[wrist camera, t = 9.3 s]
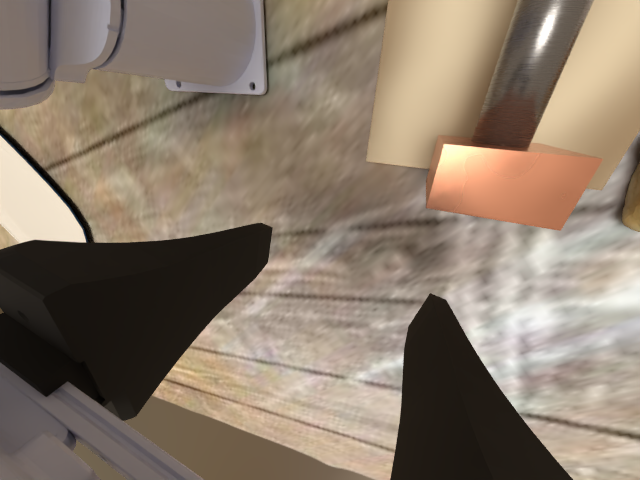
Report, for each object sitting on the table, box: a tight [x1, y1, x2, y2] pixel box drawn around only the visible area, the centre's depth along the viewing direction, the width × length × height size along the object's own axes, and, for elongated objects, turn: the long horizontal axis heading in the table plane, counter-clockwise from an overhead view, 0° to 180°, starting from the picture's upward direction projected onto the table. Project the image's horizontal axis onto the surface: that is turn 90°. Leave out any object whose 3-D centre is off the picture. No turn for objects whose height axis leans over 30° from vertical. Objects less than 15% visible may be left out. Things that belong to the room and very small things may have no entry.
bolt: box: [426, 0, 603, 231], centre depth 8 cm, size 4×10×5 cm, turn 177°
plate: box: [0, 133, 88, 243], centre depth 40 cm, size 25×25×2 cm
